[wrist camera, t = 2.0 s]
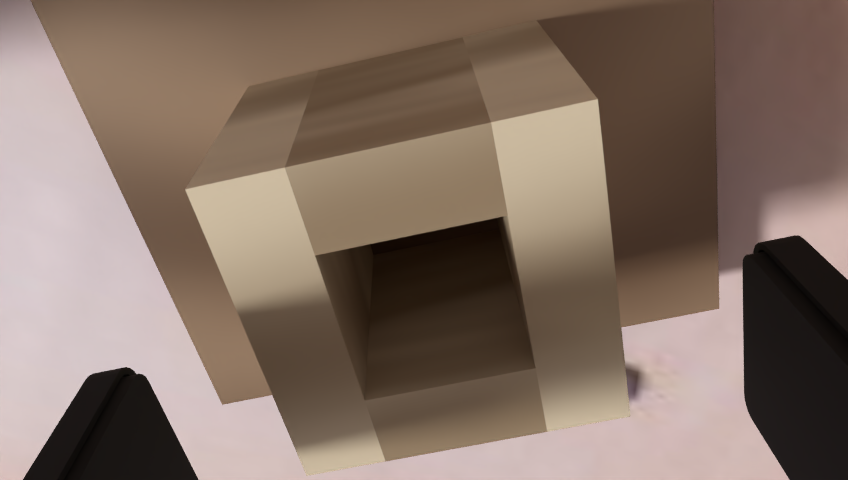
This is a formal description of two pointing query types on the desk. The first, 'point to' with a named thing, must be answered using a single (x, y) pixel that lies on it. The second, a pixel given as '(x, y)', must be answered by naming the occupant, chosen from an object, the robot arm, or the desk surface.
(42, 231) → the desk surface
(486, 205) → the wooden square holder
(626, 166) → the brown rectangular board
